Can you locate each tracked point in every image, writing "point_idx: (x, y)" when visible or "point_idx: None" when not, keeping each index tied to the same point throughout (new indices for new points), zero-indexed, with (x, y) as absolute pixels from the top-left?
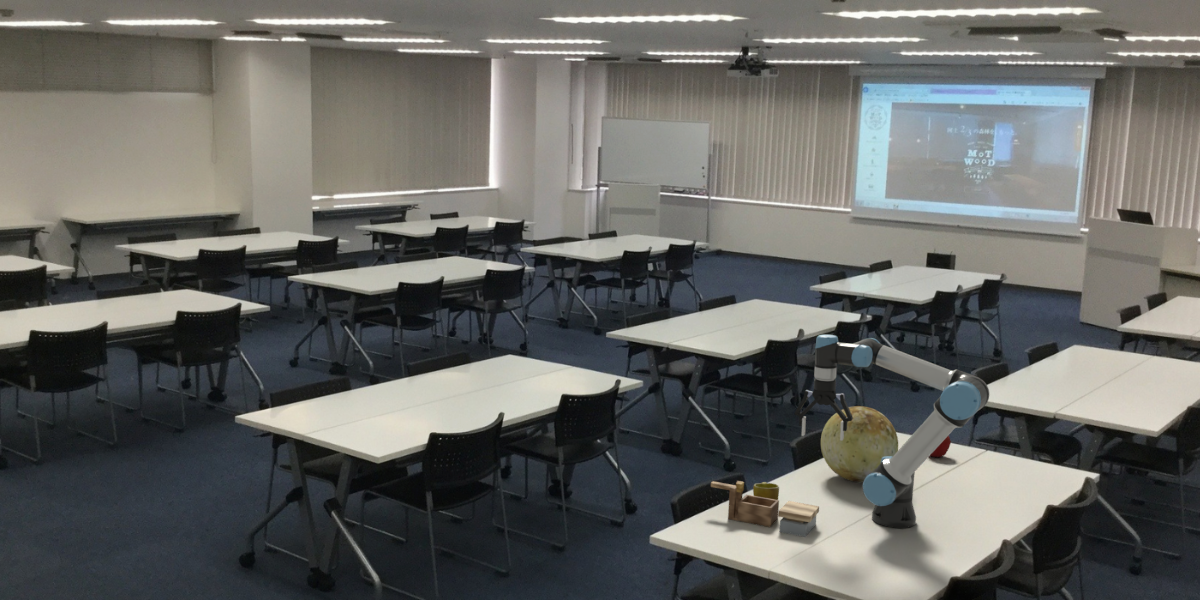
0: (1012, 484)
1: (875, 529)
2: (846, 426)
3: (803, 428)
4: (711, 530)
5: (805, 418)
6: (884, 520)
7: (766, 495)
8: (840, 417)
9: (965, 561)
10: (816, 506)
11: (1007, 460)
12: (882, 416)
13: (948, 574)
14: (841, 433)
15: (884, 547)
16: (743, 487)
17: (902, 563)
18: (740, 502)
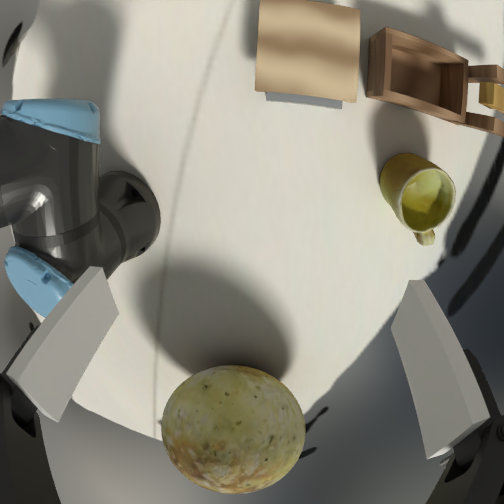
0: (92, 383)
1: (135, 142)
2: (19, 350)
3: (438, 328)
4: (462, 6)
5: (433, 439)
6: (120, 176)
7: (419, 160)
8: (3, 425)
9: (16, 97)
10: (262, 84)
11: (129, 425)
12: (181, 472)
13: (29, 33)
14: (66, 302)
15: (104, 55)
16: (484, 101)
17: (76, 14)
18: (463, 58)
